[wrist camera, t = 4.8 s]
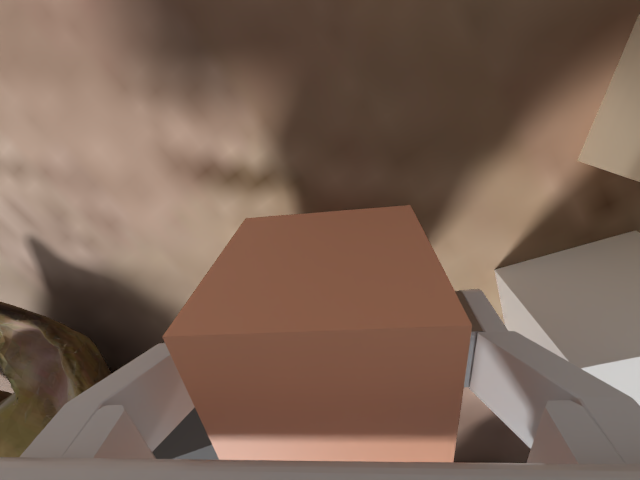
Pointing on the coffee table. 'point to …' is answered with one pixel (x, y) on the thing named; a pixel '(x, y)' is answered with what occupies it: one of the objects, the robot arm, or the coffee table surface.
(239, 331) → the terracotta cube
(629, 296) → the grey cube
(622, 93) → the birch cube
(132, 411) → the robot arm
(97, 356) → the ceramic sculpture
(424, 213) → the coffee table surface
